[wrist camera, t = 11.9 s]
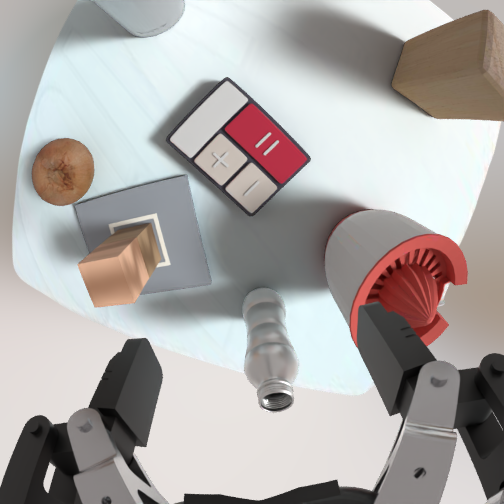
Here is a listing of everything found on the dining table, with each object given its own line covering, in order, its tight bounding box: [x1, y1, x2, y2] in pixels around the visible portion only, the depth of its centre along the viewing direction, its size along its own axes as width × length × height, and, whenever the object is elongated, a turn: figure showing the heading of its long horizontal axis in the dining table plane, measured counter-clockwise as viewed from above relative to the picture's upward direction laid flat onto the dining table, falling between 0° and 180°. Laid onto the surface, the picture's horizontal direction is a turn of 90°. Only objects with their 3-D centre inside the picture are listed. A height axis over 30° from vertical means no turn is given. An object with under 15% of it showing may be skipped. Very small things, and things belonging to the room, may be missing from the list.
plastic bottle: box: [242, 288, 299, 412], centre depth 35 cm, size 6×7×20 cm
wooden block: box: [392, 10, 504, 121], centre depth 22 cm, size 10×10×20 cm
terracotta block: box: [77, 237, 149, 307], centre depth 30 cm, size 6×6×6 cm
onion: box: [32, 138, 94, 206], centre depth 31 cm, size 10×9×10 cm
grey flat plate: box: [75, 175, 212, 295], centre depth 39 cm, size 16×18×1 cm
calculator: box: [166, 77, 311, 216], centre depth 34 cm, size 11×4×15 cm
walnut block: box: [100, 223, 161, 278], centre depth 36 cm, size 6×6×6 cm
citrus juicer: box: [324, 209, 468, 348], centre depth 32 cm, size 16×17×20 cm
